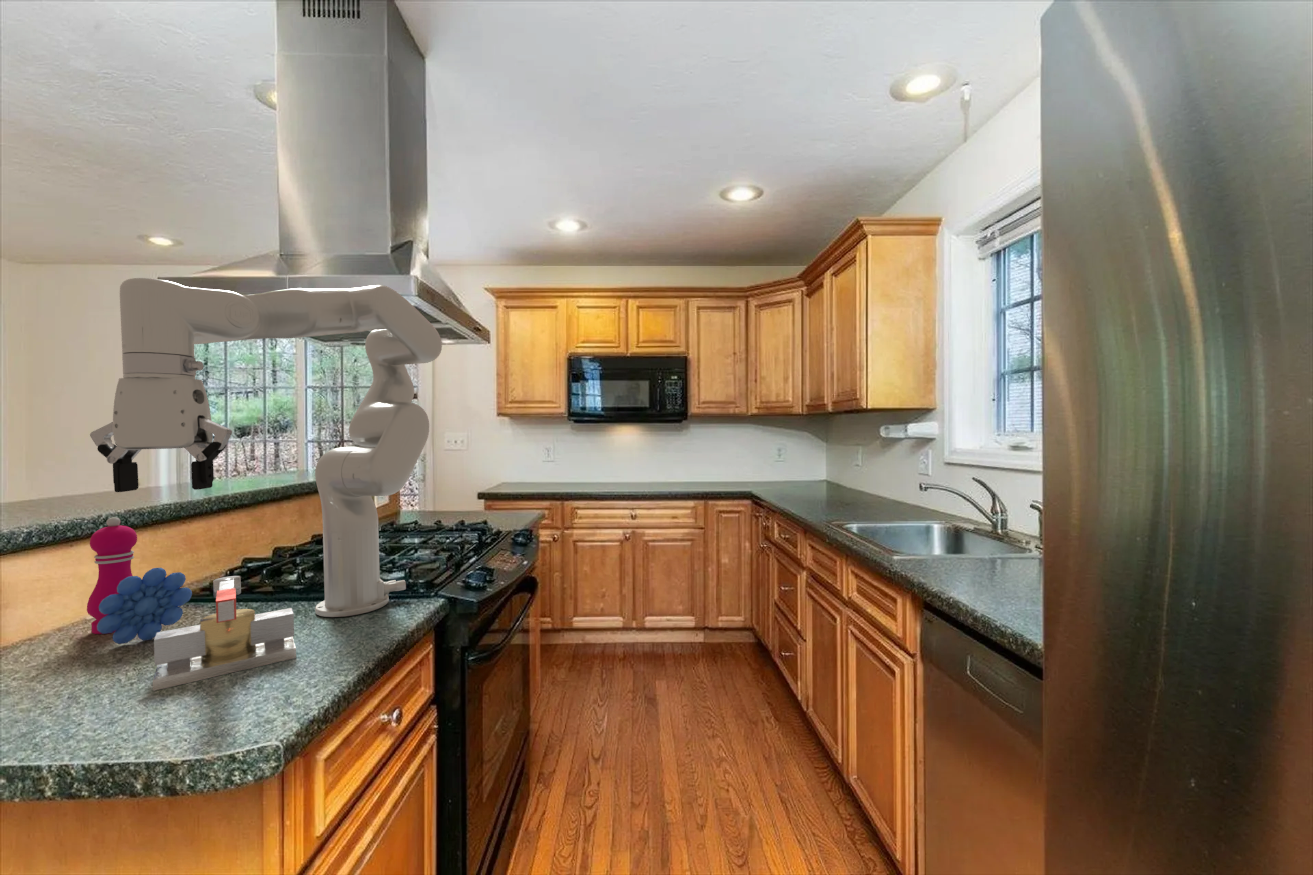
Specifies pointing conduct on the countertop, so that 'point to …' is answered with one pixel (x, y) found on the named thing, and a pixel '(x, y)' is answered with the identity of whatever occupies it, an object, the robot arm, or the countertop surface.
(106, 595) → the pepper mill
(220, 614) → the valve lever
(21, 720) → the countertop surface
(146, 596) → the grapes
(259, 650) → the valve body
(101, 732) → the countertop surface
